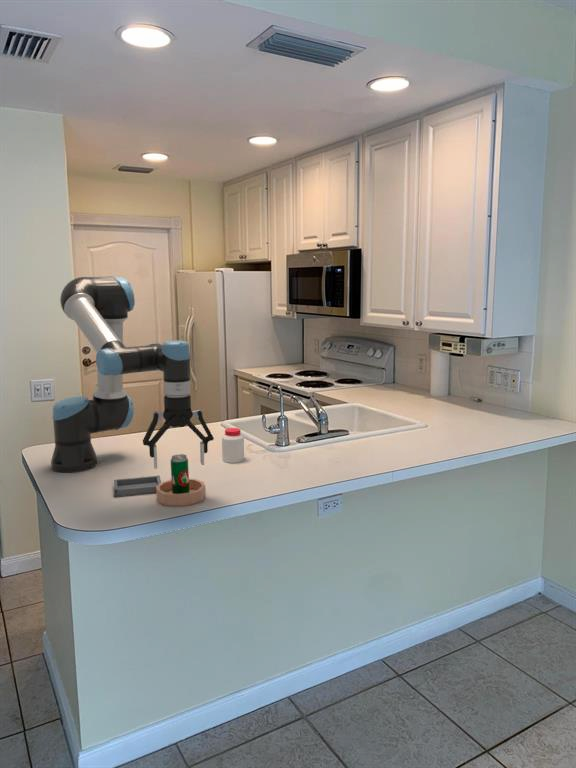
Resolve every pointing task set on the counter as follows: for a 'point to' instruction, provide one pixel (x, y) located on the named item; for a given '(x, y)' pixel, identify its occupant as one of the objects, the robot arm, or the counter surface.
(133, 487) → the tray
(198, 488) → the bowl
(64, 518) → the counter surface
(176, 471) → the soda can
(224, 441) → the pill bottle
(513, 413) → the counter surface
